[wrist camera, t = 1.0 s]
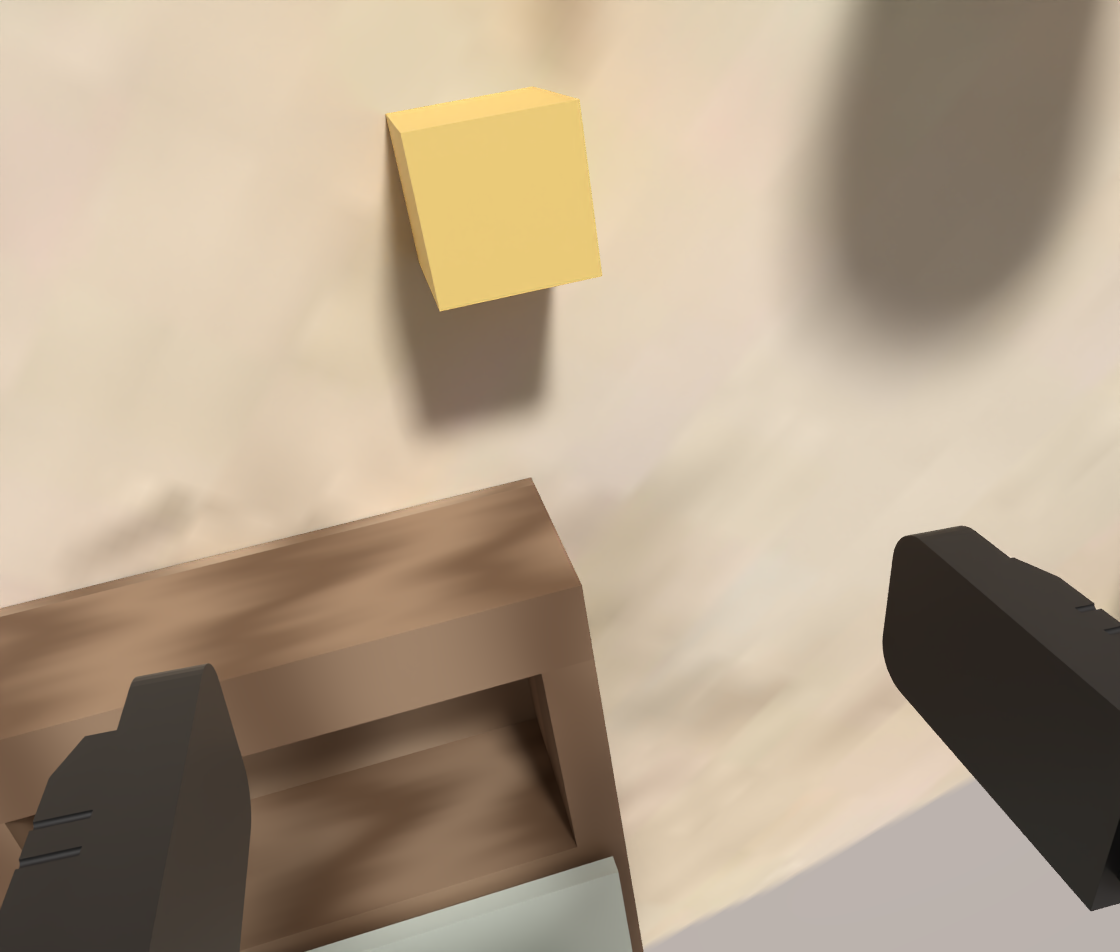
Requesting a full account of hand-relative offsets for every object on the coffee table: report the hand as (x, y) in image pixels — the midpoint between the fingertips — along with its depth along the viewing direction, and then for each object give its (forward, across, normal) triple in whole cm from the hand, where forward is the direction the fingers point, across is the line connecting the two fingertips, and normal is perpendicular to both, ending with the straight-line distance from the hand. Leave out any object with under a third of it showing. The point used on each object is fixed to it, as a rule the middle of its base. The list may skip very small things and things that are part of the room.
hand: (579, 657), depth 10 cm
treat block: (+18, -2, -3) cm, 18 cm away
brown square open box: (+18, +5, +16) cm, 24 cm away
